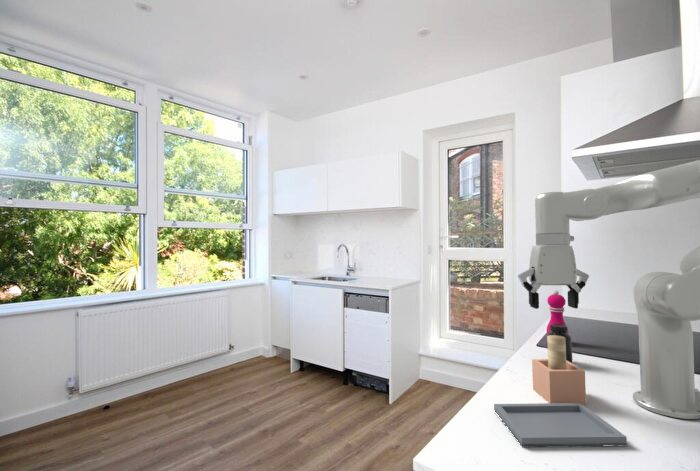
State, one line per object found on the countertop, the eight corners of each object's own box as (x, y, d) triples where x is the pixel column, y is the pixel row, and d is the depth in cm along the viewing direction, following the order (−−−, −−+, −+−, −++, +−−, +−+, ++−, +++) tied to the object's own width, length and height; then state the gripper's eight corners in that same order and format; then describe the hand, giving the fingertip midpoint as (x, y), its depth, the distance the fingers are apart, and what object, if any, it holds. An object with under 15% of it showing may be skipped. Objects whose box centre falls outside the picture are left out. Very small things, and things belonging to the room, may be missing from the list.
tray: (580, 410, 81) (580, 402, 81) (626, 446, 67) (626, 436, 67) (494, 411, 82) (494, 404, 82) (521, 447, 68) (521, 437, 68)
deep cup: (565, 389, 93) (564, 358, 93) (586, 404, 84) (584, 370, 85) (533, 389, 93) (532, 359, 93) (550, 404, 85) (549, 371, 85)
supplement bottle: (550, 357, 117) (548, 321, 117) (573, 361, 113) (572, 324, 113) (545, 363, 112) (544, 326, 112) (570, 368, 108) (569, 329, 108)
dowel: (561, 392, 91) (559, 335, 91) (571, 399, 87) (568, 339, 87) (546, 393, 91) (544, 335, 91) (554, 400, 87) (552, 339, 87)
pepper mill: (567, 346, 128) (565, 292, 128) (545, 343, 132) (543, 290, 133) (569, 341, 134) (568, 289, 134) (548, 339, 138) (546, 288, 138)
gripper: (577, 240, 93) (578, 304, 93) (511, 241, 93) (513, 305, 93) (596, 240, 85) (598, 310, 85) (525, 241, 86) (526, 310, 86)
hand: (553, 307), depth 89 cm, fingers open, 9 cm apart
